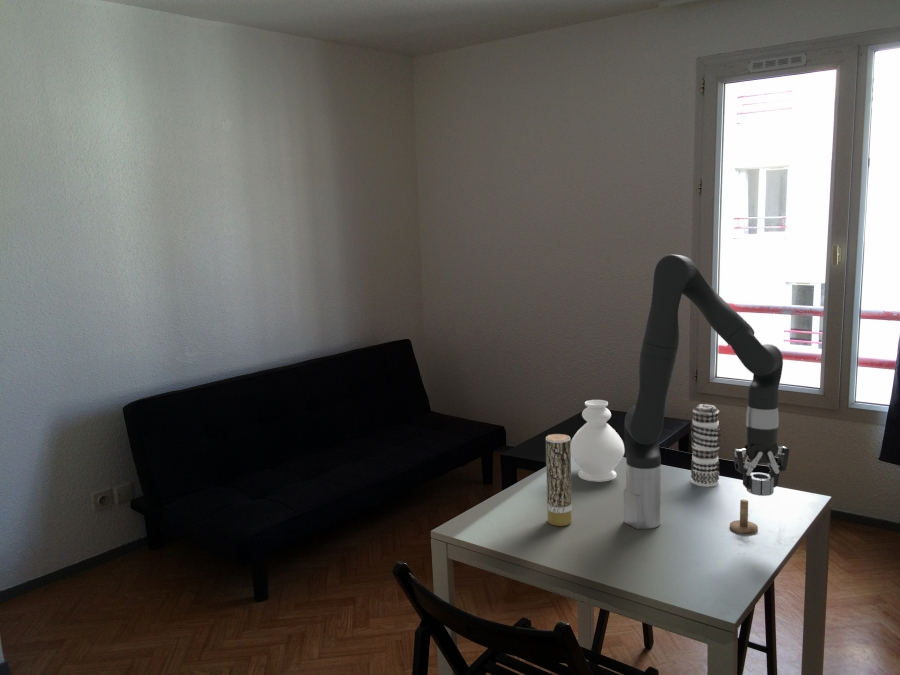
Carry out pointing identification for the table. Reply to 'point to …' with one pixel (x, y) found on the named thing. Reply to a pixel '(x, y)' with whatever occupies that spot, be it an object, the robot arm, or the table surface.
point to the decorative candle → (705, 445)
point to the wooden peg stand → (743, 521)
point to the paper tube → (558, 479)
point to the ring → (761, 484)
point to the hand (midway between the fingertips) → (760, 487)
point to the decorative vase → (597, 444)
